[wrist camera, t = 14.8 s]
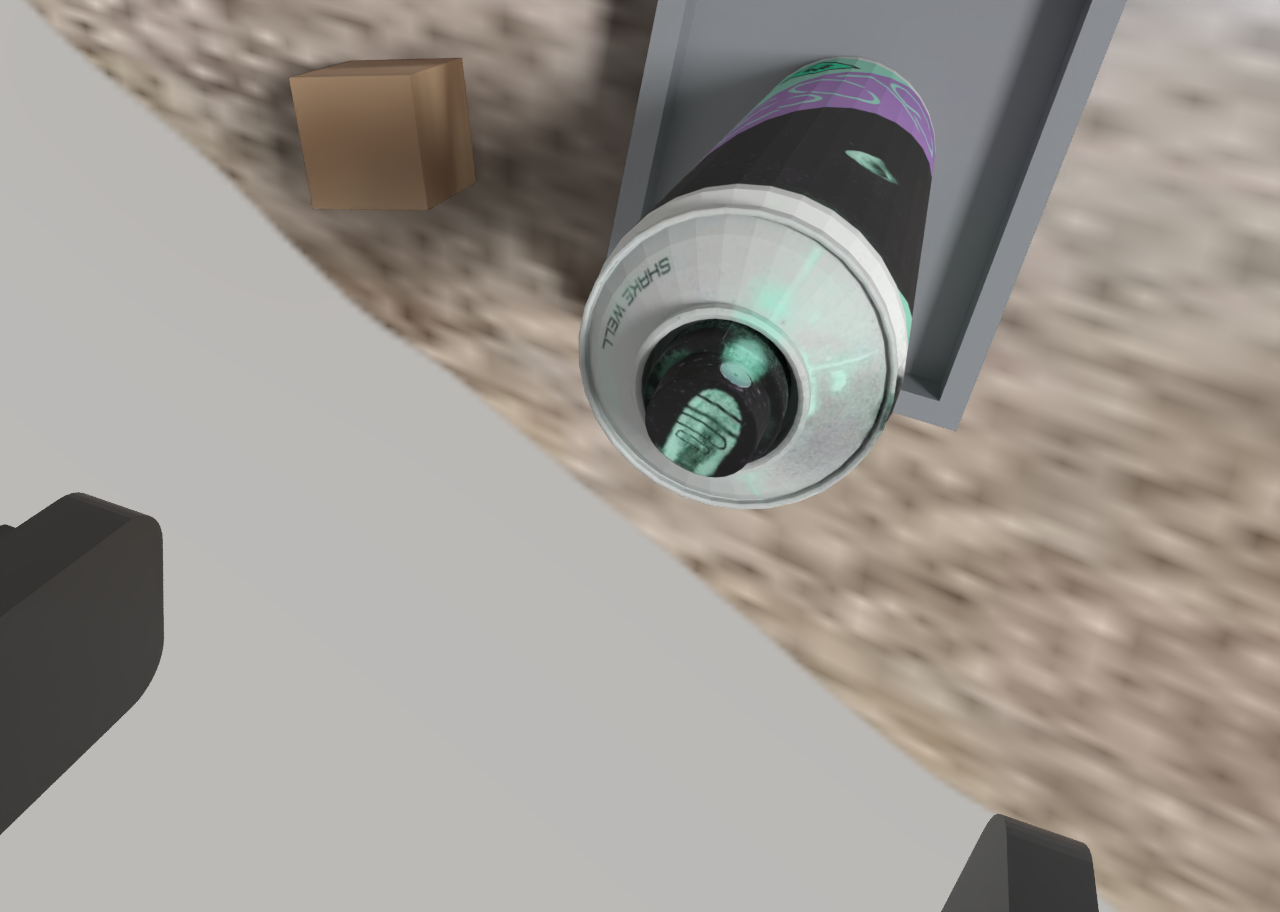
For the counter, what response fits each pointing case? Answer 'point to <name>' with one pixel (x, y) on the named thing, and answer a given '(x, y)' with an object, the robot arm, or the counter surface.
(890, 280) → the spray can
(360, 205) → the walnut block
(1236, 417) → the counter surface
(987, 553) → the counter surface
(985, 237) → the tray
